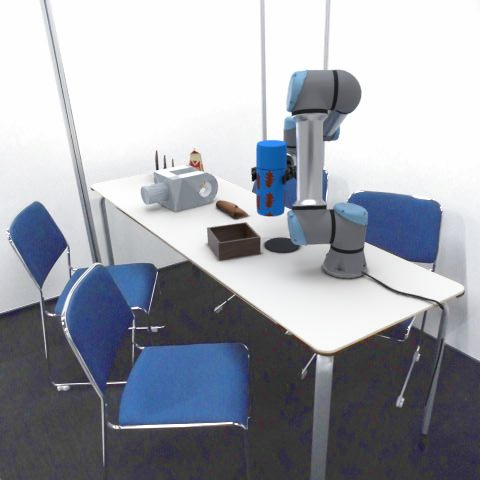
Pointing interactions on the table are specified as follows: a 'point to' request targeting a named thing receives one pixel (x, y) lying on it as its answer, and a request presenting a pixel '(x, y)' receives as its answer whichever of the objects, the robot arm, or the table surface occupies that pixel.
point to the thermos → (270, 177)
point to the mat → (281, 245)
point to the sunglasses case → (231, 209)
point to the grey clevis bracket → (180, 188)
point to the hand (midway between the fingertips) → (267, 179)
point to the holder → (233, 241)
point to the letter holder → (164, 162)
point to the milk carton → (196, 162)
